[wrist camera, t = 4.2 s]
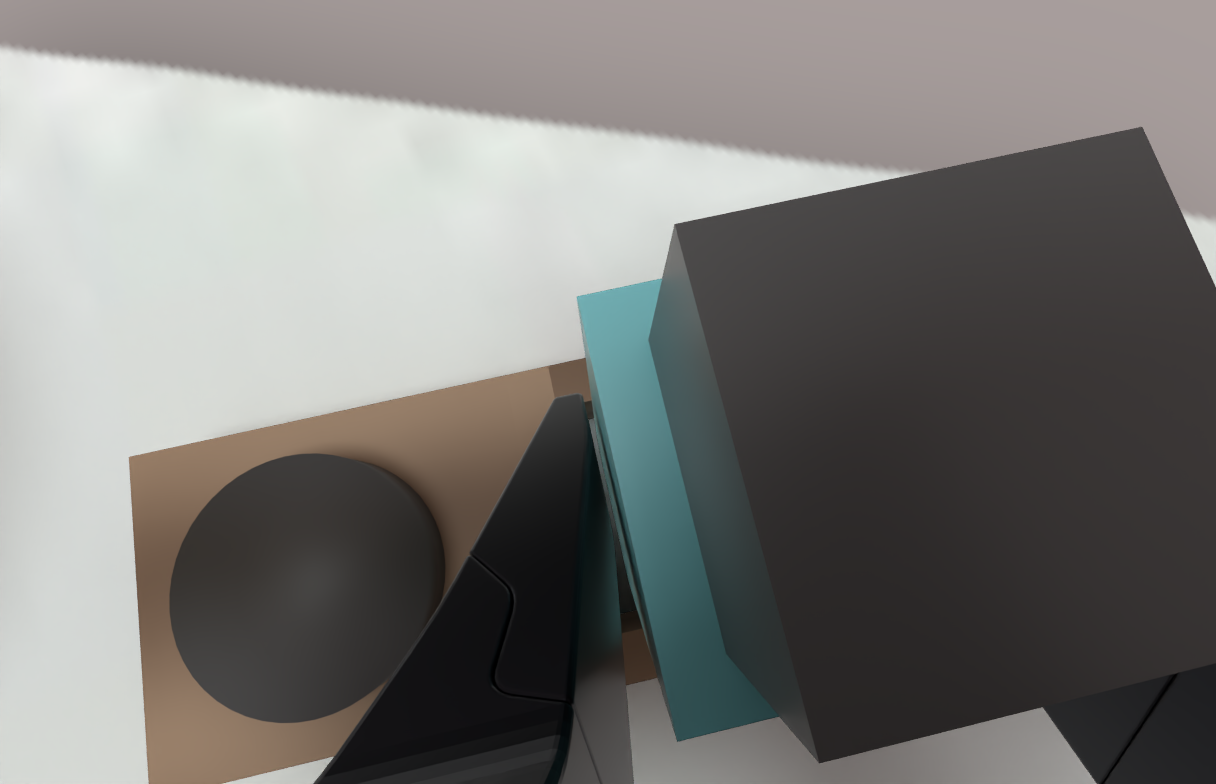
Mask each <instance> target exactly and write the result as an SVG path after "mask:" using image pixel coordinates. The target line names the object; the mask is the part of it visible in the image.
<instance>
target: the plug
mask: <svg viewBox="0 0 1216 784" xmlns="http://www.w3.org/2000/svg"><path fill="white" fill-rule="evenodd" d="M577 302H578V309H579V316H580V323H581V330H582V336H583V343H584V350H585V357H586V364H587V371H588V378H589V385H590V392H591V399H592V406H593V413H594V420H595V427H596V434H597V441H598V447H599V452H600V456H601V461H602V465H603V470H604V474H605V479H606V483H607V488H608V492H609V497H610V501H611V506H612V510H613V515H614V519H615V524H616V528H617V533H618V537H619V542H620V546H621V551H622V555H623V560H624V564H625V569H626V573H627V578H628V582H629V585H630V588H631V591H632V595H633V598H634V601H635V605H636V608H637V611H638V614H639V618H640V621H641V624H642V627H643V631H644V634H645V637H646V641H647V644H648V647H649V650H650V654H651V657H652V660H653V663H654V667H655V670H656V673H657V677H658V680H659V683H660V686H661V690H662V693H663V696H664V699H665V703H666V706H667V709H668V713H669V716H670V719H671V722H672V726H673V729H674V732H675V735H676V739H677V742H678V741H682V740H686V739H690V738H694V737H698V736H702V735H706V734H710V733H714V732H718V731H722V730H726V729H730V728H734V727H739V726H743V725H747V724H751V723H755V722H759V721H763V720H767V719H771V718H775V717H779V716H780V718H781V719H782V720H783V721H784V722H785V724H786V725H787V726H788V727H789V728H790V729H791V731H792V732H793V733H794V734H795V735H796V736H797V738H798V739H799V740H800V741H801V742H802V744H803V745H804V746H805V747H806V748H807V749H808V751H809V752H810V753H811V754H812V755H813V756H814V758H815V759H816V760H817V761H818V762H819V763H823V762H827V761H831V760H835V759H839V758H843V757H846V756H850V755H854V754H858V753H862V752H866V751H870V750H874V749H878V748H882V747H886V746H890V745H894V744H898V743H902V742H906V741H910V740H914V739H918V738H922V737H926V736H930V735H934V734H938V733H942V732H946V731H949V730H953V729H957V728H961V727H965V726H969V725H973V724H977V723H981V722H985V721H989V720H993V719H997V718H1001V717H1005V716H1009V715H1013V714H1017V713H1021V712H1025V711H1029V710H1033V709H1037V708H1041V707H1045V706H1049V705H1052V704H1056V703H1060V702H1064V701H1068V700H1072V699H1076V698H1080V697H1084V696H1088V695H1092V694H1096V693H1100V692H1104V691H1108V690H1112V689H1116V688H1120V687H1124V686H1128V685H1132V684H1136V683H1140V682H1144V681H1148V680H1151V679H1155V678H1159V677H1163V676H1167V675H1171V674H1175V673H1179V672H1183V671H1187V670H1191V669H1195V668H1199V667H1203V666H1207V665H1211V664H1215V663H1216V287H1215V285H1214V282H1213V280H1212V278H1211V276H1210V274H1209V272H1208V269H1207V267H1206V265H1205V263H1204V261H1203V258H1202V256H1201V254H1200V252H1199V250H1198V248H1197V245H1196V243H1195V241H1194V239H1193V237H1192V234H1191V232H1190V230H1189V228H1188V226H1187V224H1186V221H1185V219H1184V217H1183V215H1182V213H1181V210H1180V208H1179V206H1178V204H1177V202H1176V200H1175V197H1174V195H1173V193H1172V191H1171V189H1170V187H1169V184H1168V182H1167V180H1166V178H1165V176H1164V174H1163V171H1162V169H1161V167H1160V165H1159V162H1158V160H1157V158H1156V156H1155V154H1154V152H1153V149H1152V147H1151V145H1150V143H1149V141H1148V139H1147V136H1146V134H1145V132H1144V130H1143V128H1142V127H1139V128H1134V129H1130V130H1125V131H1120V132H1115V133H1111V134H1106V135H1101V136H1096V137H1091V138H1086V139H1082V140H1077V141H1073V142H1067V143H1063V144H1058V145H1053V146H1048V147H1043V148H1038V149H1034V150H1029V151H1024V152H1019V153H1014V154H1010V155H1005V156H1000V157H996V158H991V159H986V160H981V161H976V162H971V163H966V164H962V165H957V166H952V167H948V168H943V169H938V170H933V171H928V172H923V173H918V174H914V175H909V176H904V177H899V178H894V179H890V180H885V181H880V182H875V183H870V184H866V185H861V186H856V187H851V188H846V189H842V190H837V191H832V192H827V193H822V194H818V195H813V196H808V197H803V198H798V199H794V200H789V201H784V202H779V203H774V204H770V205H765V206H760V207H755V208H750V209H746V210H741V211H736V212H731V213H726V214H722V215H717V216H712V217H707V218H702V219H698V220H693V221H688V222H683V223H678V224H675V225H674V229H673V234H672V238H671V242H670V247H669V251H668V256H667V260H666V264H665V269H664V273H663V277H662V279H658V280H653V281H648V282H643V283H639V284H634V285H629V286H625V287H620V288H615V289H610V290H606V291H601V292H596V293H592V294H587V295H582V296H578V297H577Z"/></svg>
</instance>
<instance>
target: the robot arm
mask: <svg viewBox="0 0 1216 784" xmlns="http://www.w3.org/2000/svg"><path fill="white" fill-rule="evenodd" d="M469 554H470V556H467V557H466V559H465V560H464V562H463V564H462V566H461V568H460V570H459V571H458V573H457V575H456V577H455V579H454V580H453V582H452V584H451V585H450V587H449V589H448V590H447V592H446V594H445V595H444V597H443V599H442V601H441V602H440V604H439V606H438V607H437V609H436V611H435V612H434V614H433V615H432V617H431V618H430V620H429V621H428V623H427V624H426V626H425V627H424V629H423V630H422V632H421V633H420V635H419V636H418V638H417V639H416V641H415V642H414V644H413V645H412V647H411V648H410V650H409V651H408V653H407V654H406V656H405V657H404V658H403V660H402V661H401V663H400V664H399V666H398V667H397V668H396V670H395V671H394V673H393V674H392V675H391V677H390V678H389V680H388V681H387V683H386V684H385V685H384V687H383V688H382V690H381V691H380V692H379V694H378V695H377V697H376V698H375V700H374V701H373V702H372V704H371V705H370V707H369V708H368V709H367V711H366V712H365V714H364V715H363V717H362V718H361V719H360V721H359V722H358V724H357V725H356V726H355V728H354V729H353V731H352V732H351V734H350V735H349V736H348V738H347V739H346V741H345V742H344V743H343V745H342V746H341V748H340V749H339V751H338V752H337V753H336V755H335V756H334V758H333V759H332V760H331V762H330V763H329V764H328V766H327V767H326V768H325V770H324V771H323V772H322V774H321V775H320V776H319V778H318V779H317V780H316V781H315V782H314V784H634V778H633V766H632V754H631V742H630V729H629V717H628V705H627V693H626V680H625V668H624V656H623V644H622V631H621V619H620V607H619V595H618V582H617V570H616V558H615V548H614V539H613V533H612V527H611V522H610V517H609V513H608V508H607V503H606V499H605V494H604V490H603V485H602V480H601V476H600V471H599V467H598V462H597V457H596V453H595V448H594V444H593V439H592V434H591V430H590V425H589V421H588V416H587V412H586V407H585V403H584V398H583V395H582V394H580V393H574V394H569V395H565V396H560V397H556V398H555V399H554V400H553V401H552V403H551V405H550V407H549V408H548V410H547V412H546V414H545V416H544V418H543V419H542V421H541V423H540V425H539V427H538V428H537V430H536V432H535V434H534V436H533V437H532V439H531V441H530V443H529V445H528V447H527V448H526V450H525V452H524V454H523V456H522V457H521V459H520V461H519V463H518V465H517V467H516V468H515V470H514V472H513V474H512V476H511V477H510V479H509V481H508V483H507V485H506V487H505V488H504V490H503V492H502V494H501V496H500V497H499V499H498V501H497V503H496V505H495V506H494V508H493V510H492V512H491V514H490V516H489V517H488V519H487V521H486V523H485V525H484V526H483V528H482V530H481V532H480V534H479V536H478V537H477V539H476V541H475V543H474V545H473V546H472V548H471V550H470V552H469ZM1043 708H1044V710H1045V711H1046V713H1047V714H1048V715H1049V717H1050V718H1051V720H1052V721H1053V722H1054V724H1055V725H1056V727H1057V728H1058V729H1059V731H1060V732H1061V734H1062V735H1063V737H1064V738H1065V739H1066V741H1067V742H1068V744H1069V745H1070V746H1071V748H1072V749H1073V751H1074V752H1075V753H1076V755H1077V756H1078V758H1079V759H1080V761H1081V762H1082V763H1083V765H1084V766H1085V768H1086V769H1087V770H1088V772H1089V773H1090V775H1091V776H1092V777H1093V779H1094V780H1095V782H1096V783H1097V784H1216V663H1215V664H1211V665H1207V666H1203V667H1199V668H1195V669H1191V670H1187V671H1183V672H1179V673H1175V674H1171V675H1167V676H1163V677H1159V678H1155V679H1151V680H1148V681H1144V682H1140V683H1136V684H1132V685H1128V686H1124V687H1120V688H1116V689H1112V690H1108V691H1104V692H1100V693H1096V694H1092V695H1088V696H1084V697H1080V698H1076V699H1072V700H1068V701H1064V702H1060V703H1056V704H1052V705H1049V706H1045V707H1043Z"/></svg>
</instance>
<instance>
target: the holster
mask: <svg viewBox="0 0 1216 784" xmlns="http://www.w3.org/2000/svg"><path fill="white" fill-rule="evenodd" d="M574 393H580V394H582V395H583V398H584V403H585V407H586V412H587V416H588V419H592V418H594V413H593V406H592V399H591V392H590V385H589V378H588V371H587V364H586V358H583V359H578V360H574V361H569V362H565V363H560V364H555V365H551V366H546V367H542V368H537V369H532V370H528V371H523V372H519V373H514V374H509V375H505V376H500V377H496V378H491V379H486V380H482V381H477V382H472V383H468V384H463V385H459V386H454V387H449V388H445V389H440V390H436V391H431V392H426V393H422V394H417V395H413V396H408V397H403V398H399V399H394V400H390V401H385V402H380V403H376V404H371V405H367V406H362V407H357V408H353V409H348V410H343V411H339V412H334V413H330V414H325V415H320V416H316V417H311V418H307V419H302V420H297V421H293V422H288V423H284V424H279V425H274V426H270V427H265V428H261V429H256V430H251V431H247V432H242V433H237V434H233V435H228V436H224V437H219V438H214V439H210V440H205V441H201V442H196V443H191V444H187V445H182V446H178V447H173V448H168V449H164V450H159V451H155V452H150V453H145V454H141V455H136V456H132V457H129V467H130V483H131V499H132V516H133V532H134V549H135V565H136V581H137V598H138V614H139V630H140V647H141V663H142V680H143V696H144V712H145V729H146V745H147V761H148V778H149V784H222V783H226V782H230V781H234V780H238V779H243V778H247V777H251V776H255V775H259V774H263V773H267V772H271V771H275V770H280V769H284V768H288V767H292V766H296V765H300V764H304V763H308V762H313V761H317V760H321V759H325V758H329V757H333V756H335V755H336V753H337V752H338V751H339V749H340V748H341V746H342V745H343V743H344V742H345V741H346V739H347V738H348V736H349V735H350V734H351V732H352V731H353V729H354V728H355V726H356V725H357V724H358V722H359V721H360V719H361V718H362V717H363V715H364V714H365V712H366V711H367V709H368V708H369V707H370V705H371V704H372V702H373V701H374V700H375V698H376V697H377V695H378V694H379V692H380V691H381V690H382V688H383V687H384V685H385V684H386V683H387V681H388V680H389V678H390V677H391V675H392V674H393V673H394V671H395V670H396V668H397V667H398V666H399V664H400V663H401V661H402V660H403V658H404V657H405V656H406V654H407V653H408V651H409V650H410V648H411V647H412V645H413V644H414V642H415V641H416V639H417V638H418V636H419V635H420V633H421V632H422V630H423V629H424V627H425V626H426V624H427V623H428V621H429V620H430V618H431V617H432V615H433V614H434V612H435V611H436V609H437V607H438V606H439V604H440V602H441V601H442V599H443V597H444V595H445V594H446V592H447V590H448V589H449V587H450V585H451V584H452V582H453V580H454V579H455V577H456V575H457V573H458V571H459V570H460V568H461V566H462V564H463V562H464V560H465V559H466V557H467V556H470V554H469V552H470V550H471V548H472V546H473V545H474V543H475V541H476V539H477V537H478V536H479V534H480V532H481V530H482V528H483V526H484V525H485V523H486V521H487V519H488V517H489V516H490V514H491V512H492V510H493V508H494V506H495V505H496V503H497V501H498V499H499V497H500V496H501V494H502V492H503V490H504V488H505V487H506V485H507V483H508V481H509V479H510V477H511V476H512V474H513V472H514V470H515V468H516V467H517V465H518V463H519V461H520V459H521V457H522V456H523V454H524V452H525V450H526V448H527V447H528V445H529V443H530V441H531V439H532V437H533V436H534V434H535V432H536V430H537V428H538V427H539V425H540V423H541V421H542V419H543V418H544V416H545V414H546V412H547V410H548V408H549V407H550V405H551V403H552V401H553V400H554V399H555V398H556V397H560V396H565V395H569V394H574ZM620 619H621V631H622V644H623V656H624V668H625V680H626V685H629V684H634V683H638V682H642V681H646V680H650V679H654V678H658V677H657V673H656V670H655V667H654V663H653V660H652V657H651V654H650V650H649V647H648V644H647V641H646V637H645V634H644V631H643V627H642V624H641V621H640V618H639V614H638V611H637V610H634V611H630V612H626V613H622V614H620Z"/></svg>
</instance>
